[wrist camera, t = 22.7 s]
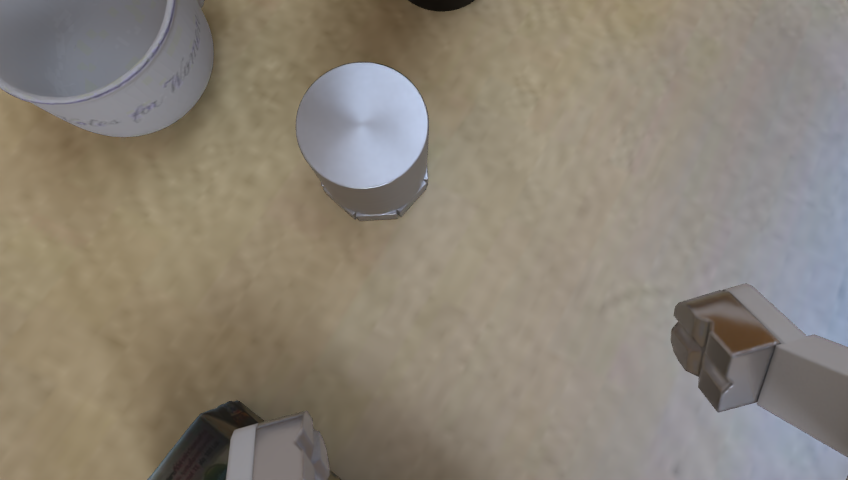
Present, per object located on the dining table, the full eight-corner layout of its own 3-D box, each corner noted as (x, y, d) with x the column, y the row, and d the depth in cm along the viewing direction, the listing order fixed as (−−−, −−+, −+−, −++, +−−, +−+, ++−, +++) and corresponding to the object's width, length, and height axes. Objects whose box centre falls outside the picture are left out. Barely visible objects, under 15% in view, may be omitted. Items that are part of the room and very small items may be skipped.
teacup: (115, 186, 33) (19, 144, 25) (31, 51, 34) (-86, -30, 26) (304, 67, 34) (269, -8, 26) (216, -59, 35) (158, -167, 28)
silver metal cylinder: (423, 118, 34) (424, 57, 26) (429, 216, 33) (433, 184, 25) (323, 124, 34) (293, 64, 26) (326, 223, 33) (296, 192, 25)
